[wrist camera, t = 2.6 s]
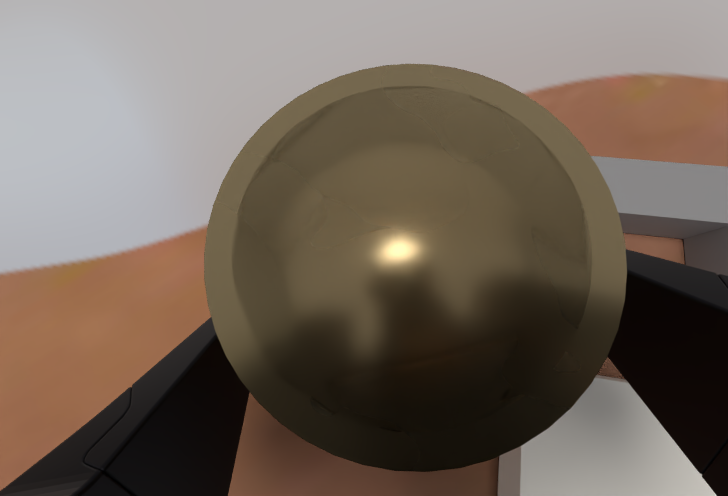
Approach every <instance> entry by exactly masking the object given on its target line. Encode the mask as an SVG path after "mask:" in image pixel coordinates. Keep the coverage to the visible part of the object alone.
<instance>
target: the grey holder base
mask: <svg viewBox="0 0 728 496" xmlns="http://www.w3.org/2000/svg"><path fill="white" fill-rule="evenodd" d="M591 158H592V159H593V160H594V162H595V163H596V165H597V166H598V168H599V170H600V172H601V174H602V176H603V178H604V180H605V182H606V183H607V185H608V187H609V189H610V192H611V194H612V197H613V200H614V203H615V205H616V208H617V211H618V213H619V217H620V221H621V226H622V231H623V233H631V234H640V235H650V236H659V237H668V238H678V239H683V240H684V251H685V262H686V265H688V266H692V267H696V268H699V269H703V270H707V271H711V272H715V273H716V274H717V275H718V274H723V275H726V276H728V167H722V166H710V165H697V164H685V163H672V162H660V161H647V160H635V159H622V158H610V157H597V156H591ZM498 496H717V495H716V494H715V493H714V492H713V490H712V489H711V488H710V487H709V485H708V484H707V483H706V481H705V480H704V479H703V478H702V474H700V473H699V472H698V471H697V470H696V468H695V467H694V466H693V464H692V463H691V462H690V461H689V459H688V458H687V457H686V456H685V454H684V453H683V452H682V450H681V449H680V448H679V447H678V445H677V444H676V443H675V442H674V440H673V439H672V438H671V437H670V435H669V434H668V433H667V431H666V430H665V429H664V428H663V426H662V425H661V424H660V423H659V421H658V420H657V419H656V417H655V416H654V415H653V414H652V412H651V411H650V410H649V409H648V407H647V406H646V405H645V403H644V402H643V401H642V400H641V398H640V397H639V396H638V395H637V393H636V392H635V391H634V389H633V388H632V387H631V386H630V384H629V383H628V382H627V381H626V379H620V378H613V377H607V376H601V375H596V377H595V378H594V380H593V382H592V383H591V385H590V386H589V387H588V388H587V390H586V391H585V392H584V393H583V394H582V396H581V397H580V398H579V399H578V401H577V402H576V403H575V404H574V405H573V407H572V408H571V409H570V410H568V411H567V412H566V413H565V414H564V415H563V416H562V417H561V418H559V419H558V420H557V421H556V422H555V423H554V424H553V425H552V426H550V427H549V428H548V429H547V430H545V431H544V432H542V433H541V434H539V435H537V436H536V437H534V438H533V439H531V440H530V441H528V442H527V443H525V444H524V445H522V446H520V447H518V448H516V449H513V450H511V451H509V452H507V453H504V454H502V455H500V456H499V475H498Z"/></svg>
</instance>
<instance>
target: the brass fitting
mask: <svg viewBox="0 0 728 496" xmlns="http://www.w3.org/2000/svg"><path fill="white" fill-rule="evenodd" d="M204 279H205V286H206V294H207V301H208V307H209V310H210V314H211V317H212V321H213V325H214V328H215V331H216V334H217V336H218V338H219V341H220V343H221V345H222V348H223V350H224V352H225V355H226V357H227V359H228V360H229V362H230V363H231V365H232V367H233V368H234V370H235V372H236V373H237V375H238V377H239V378H240V380H241V381H242V383H243V384H244V385H245V386H246V388H247V389H248V390H249V391H250V393H251V394H252V395H253V396H254V398H255V399H256V400H257V401H258V402H259V403H260V404H261V405H262V406H263V407H264V408H265V409H266V410H267V411H268V412H269V413H270V414H271V415H272V416H273V417H274V418H276V419H277V420H278V421H279V422H280V423H281V424H282V425H284V426H285V427H287V428H288V429H290V430H291V431H292V432H294V433H295V434H297V435H298V436H300V437H301V438H302V439H304V440H305V441H307V442H309V443H311V444H313V445H315V446H317V447H319V448H321V449H323V450H325V451H327V452H329V453H331V454H333V455H335V456H338V457H341V458H344V459H347V460H350V461H353V462H356V463H359V464H362V465H367V466H372V467H378V468H383V469H389V470H394V471H420V472H430V471H438V470H447V469H455V468H462V467H465V466H469V465H473V464H476V463H480V462H484V461H487V460H491V459H493V458H496V457H498V456H500V455H502V454H504V453H507V452H509V451H511V450H513V449H516V448H518V447H520V446H522V445H524V444H525V443H527V442H528V441H530V440H531V439H533V438H534V437H536V436H537V435H539V434H541V433H542V432H544V431H545V430H547V429H548V428H549V427H550V426H552V425H553V424H554V423H555V422H556V421H557V420H558V419H559V418H561V417H562V416H563V415H564V414H565V413H566V412H567V411H568V410H570V409H571V408H572V407H573V405H574V404H575V403H576V402H577V401H578V399H579V398H580V397H581V396H582V394H583V393H584V392H585V391H586V390H587V388H588V387H589V386H590V385H591V383H592V382H593V380H594V378H595V377H596V375H597V373H598V372H599V370H600V368H601V366H602V365H603V363H604V361H605V360H606V358H607V356H608V353H609V351H610V348H611V346H612V343H613V341H614V338H615V336H616V333H617V331H618V328H619V323H620V319H621V315H622V310H623V306H624V302H625V292H626V279H627V263H626V249H625V240H624V235H623V231H622V226H621V221H620V217H619V213H618V211H617V208H616V205H615V203H614V200H613V197H612V194H611V192H610V189H609V187H608V185H607V183H606V182H605V180H604V178H603V176H602V174H601V172H600V170H599V168H598V166H597V165H596V163H595V162H594V160H593V159H592V158H591V156H590V155H589V153H588V152H587V151H586V149H585V148H584V146H583V145H582V144H581V143H580V141H579V140H578V139H577V138H576V137H575V136H574V135H573V134H572V133H571V132H570V130H569V129H568V128H567V127H566V126H565V125H564V124H563V123H562V122H560V121H559V120H558V119H557V118H556V117H555V116H553V115H552V114H551V113H550V112H549V111H548V110H546V109H545V108H544V107H542V106H541V105H539V104H538V103H536V102H535V101H533V100H532V99H530V98H529V97H527V96H526V95H525V94H523V93H521V92H519V91H517V90H515V89H513V88H511V87H509V86H507V85H505V84H503V83H501V82H498V81H496V80H493V79H491V78H488V77H485V76H483V75H480V74H477V73H473V72H469V71H465V70H461V69H457V68H451V67H445V66H438V65H426V64H400V65H387V66H380V67H375V68H369V69H364V70H360V71H356V72H353V73H350V74H346V75H343V76H339V77H337V78H335V79H332V80H330V81H328V82H325V83H323V84H321V85H318V86H316V87H315V88H313V89H311V90H309V91H307V92H306V93H304V94H302V95H300V96H298V97H297V98H295V99H294V100H293V101H291V102H290V103H288V104H287V105H286V106H284V107H283V108H281V109H280V110H279V111H278V112H276V113H275V114H274V115H273V116H272V117H271V118H270V119H269V120H268V121H266V122H265V123H264V124H263V125H262V126H261V127H260V128H259V129H258V131H257V132H256V133H255V134H254V135H253V136H252V137H251V138H250V140H249V141H248V142H247V143H246V145H245V146H244V147H243V149H242V150H241V152H240V153H239V154H238V156H237V157H236V159H235V160H234V162H233V163H232V165H231V167H230V169H229V171H228V173H227V175H226V176H225V178H224V180H223V182H222V184H221V187H220V189H219V192H218V195H217V197H216V200H215V202H214V205H213V209H212V213H211V217H210V220H209V224H208V228H207V236H206V244H205V252H204Z"/></svg>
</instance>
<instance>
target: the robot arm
mask: <svg viewBox="0 0 728 496" xmlns="http://www.w3.org/2000/svg"><path fill="white" fill-rule="evenodd" d="M626 263H627V279H626V292H625V302H624V306H623V310H622V315H621V319H620V323H619V328H618V331H617V333H616V336H615V338H614V341H613V343H612V346H611V348H610V351H609V353H608V358H609V359H610V360H611V361H612V363H613V364H614V365H615V367H616V368H617V369H618V370H619V372H620V373H621V374H622V375H623V377H624V378H625V379H626V381H627V382H628V383H629V384H630V386H631V387H632V388H633V389H634V391H635V392H636V393H637V395H638V396H639V397H640V398H641V400H642V401H643V402H644V403H645V405H646V406H647V407H648V409H649V410H650V411H651V412H652V414H653V415H654V416H655V417H656V419H657V420H658V421H659V423H660V424H661V425H662V426H663V428H664V429H665V430H666V431H667V433H668V434H669V435H670V437H671V438H672V439H673V440H674V442H675V443H676V444H677V445H678V447H679V448H680V449H681V450H682V452H683V453H684V454H685V456H686V457H687V458H688V459H689V461H690V462H691V463H692V464H693V466H694V467H695V468H696V470H697V471H698V472H699V473H700V474H702V478H703V479H704V480H705V481H706V483H707V484H708V485H709V487H710V488H711V489H712V490H713V492H714V493H715V494H716V495H717V496H728V276H726V275H723V274H718V275H717V274H716V273H715V272H711V271H707V270H703V269H699V268H696V267H692V266H688V265H684V264H680V263H676V262H673V261H669V260H665V259H661V258H657V257H653V256H650V255H646V254H642V253H638V252H634V251H630V250H627V249H626ZM249 392H250V391H249V390H248V389H247V388H246V386H245V385H244V384H243V383H242V381H241V380H240V378H239V377H238V375H237V373H236V372H235V370H234V368H233V367H232V365H231V363H230V362H229V360H228V359H227V357H226V355H225V352H224V350H223V348H222V345H221V343H220V341H219V338H218V336H217V334H216V331H215V328H214V325H213V321H212V317H211V318H209V319H208V320H207V321H206V322H205V323H204V324H202V325H201V326H200V327H199V328H198V329H197V330H195V331H194V332H193V333H192V334H191V335H190V336H188V337H187V338H186V339H185V340H184V341H183V342H182V343H180V344H179V345H178V346H177V347H176V348H175V349H173V350H172V351H171V352H170V353H169V354H168V355H166V356H165V357H164V358H163V359H162V360H161V361H159V362H158V363H157V364H156V365H155V366H154V367H153V368H151V369H150V370H149V371H148V372H147V373H146V374H144V375H143V376H142V377H141V378H140V379H139V380H137V381H136V382H135V383H134V384H133V385H132V387H129V388H128V389H127V390H126V391H125V392H123V393H122V394H121V395H120V396H119V397H118V398H117V399H115V400H114V401H113V402H112V403H111V404H109V405H108V406H107V407H106V408H105V409H103V410H102V411H101V412H100V413H99V414H97V415H96V416H95V417H94V418H93V419H91V420H90V421H89V422H88V423H86V424H85V425H84V426H83V427H81V428H80V429H79V430H78V431H76V432H75V433H74V434H73V435H71V436H70V437H69V438H68V439H66V440H65V441H64V442H62V443H61V444H60V445H59V446H57V447H56V448H55V449H53V450H52V451H51V452H50V453H48V454H47V455H46V456H45V457H43V458H42V459H41V460H39V461H38V462H37V463H36V464H34V465H33V466H32V467H31V468H29V469H28V470H27V471H25V472H24V473H23V474H22V475H20V476H19V477H18V478H16V479H15V480H14V481H13V482H11V483H10V484H9V485H8V486H6V487H5V488H4V489H2V490H1V491H0V496H228V492H229V487H230V483H231V478H232V473H233V468H234V463H235V459H236V454H237V449H238V444H239V440H240V435H241V430H242V425H243V421H244V416H245V411H246V406H247V401H248V397H249Z"/></svg>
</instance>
